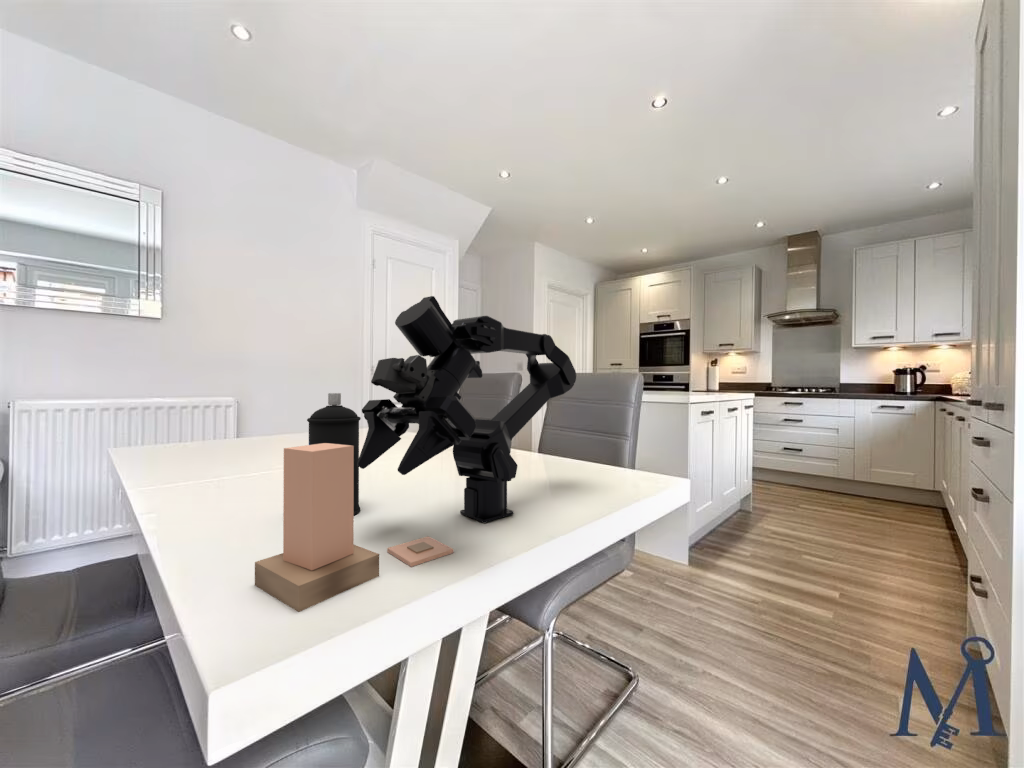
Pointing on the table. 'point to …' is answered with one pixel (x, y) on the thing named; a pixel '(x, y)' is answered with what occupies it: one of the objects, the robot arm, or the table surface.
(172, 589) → the table surface
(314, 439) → the aerosol can
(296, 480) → the terracotta block
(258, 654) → the table surface
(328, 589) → the walnut slab
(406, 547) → the tile
